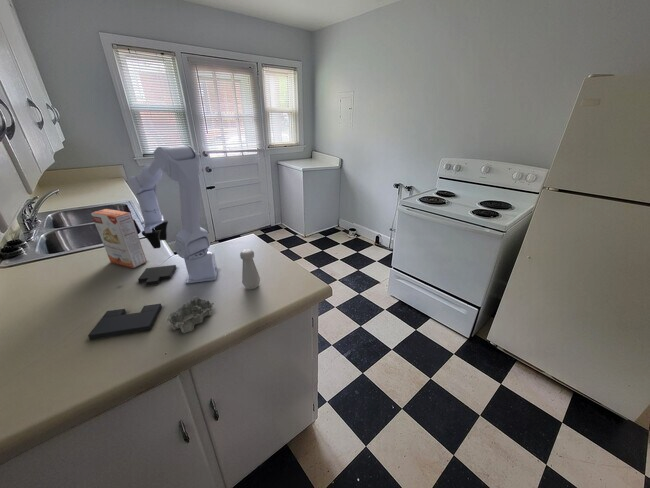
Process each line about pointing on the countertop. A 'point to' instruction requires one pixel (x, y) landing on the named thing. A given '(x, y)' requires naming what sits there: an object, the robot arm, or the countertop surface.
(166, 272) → the black pad
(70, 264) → the countertop surface
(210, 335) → the countertop surface
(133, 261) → the cracker box
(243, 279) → the salt shaker
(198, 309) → the egg carton
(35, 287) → the countertop surface
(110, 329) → the charcoal pad
